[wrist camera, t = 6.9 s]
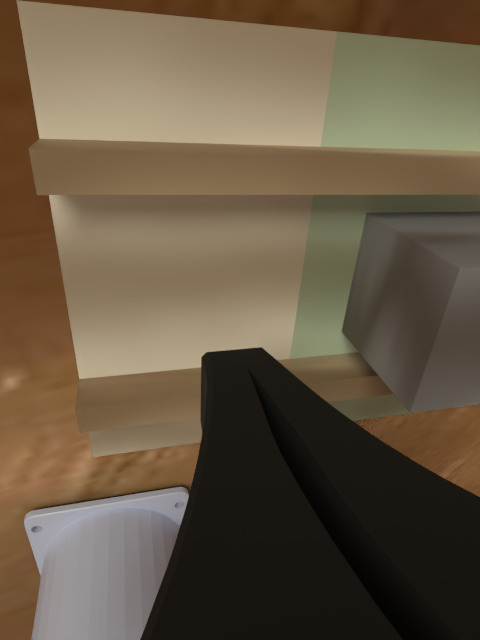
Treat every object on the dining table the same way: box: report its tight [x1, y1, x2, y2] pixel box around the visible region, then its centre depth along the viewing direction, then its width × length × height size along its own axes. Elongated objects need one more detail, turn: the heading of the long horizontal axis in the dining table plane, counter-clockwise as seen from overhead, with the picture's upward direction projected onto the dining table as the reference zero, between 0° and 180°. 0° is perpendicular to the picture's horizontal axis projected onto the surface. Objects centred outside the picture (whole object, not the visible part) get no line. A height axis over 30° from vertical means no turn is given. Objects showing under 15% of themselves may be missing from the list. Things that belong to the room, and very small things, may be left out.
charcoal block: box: [342, 211, 480, 413], centre depth 13 cm, size 4×4×4 cm
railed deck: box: [17, 1, 480, 457], centre depth 16 cm, size 14×22×4 cm, turn 86°
